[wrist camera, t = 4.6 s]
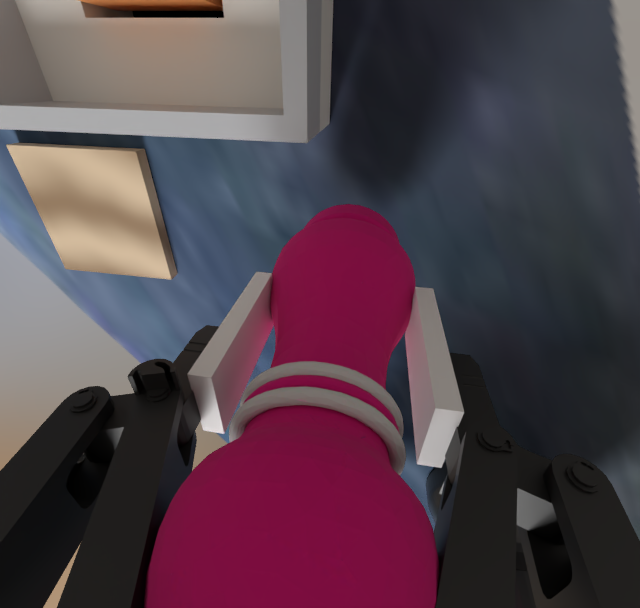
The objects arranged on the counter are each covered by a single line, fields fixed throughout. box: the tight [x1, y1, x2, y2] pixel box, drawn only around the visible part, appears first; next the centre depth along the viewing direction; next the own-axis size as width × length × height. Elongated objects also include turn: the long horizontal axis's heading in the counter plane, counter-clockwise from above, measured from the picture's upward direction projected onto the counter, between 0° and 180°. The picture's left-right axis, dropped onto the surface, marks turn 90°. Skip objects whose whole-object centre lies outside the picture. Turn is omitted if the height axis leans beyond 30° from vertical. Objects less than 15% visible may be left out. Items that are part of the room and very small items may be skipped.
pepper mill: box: [144, 204, 439, 608], centre depth 12 cm, size 7×7×20 cm
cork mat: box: [6, 143, 177, 280], centre depth 26 cm, size 10×10×1 cm
